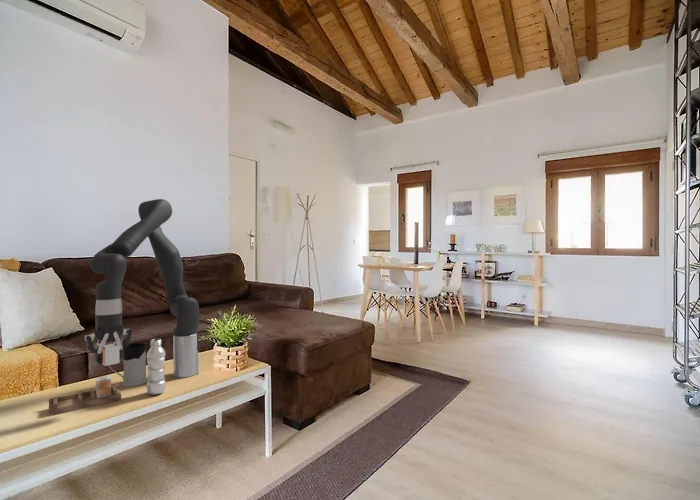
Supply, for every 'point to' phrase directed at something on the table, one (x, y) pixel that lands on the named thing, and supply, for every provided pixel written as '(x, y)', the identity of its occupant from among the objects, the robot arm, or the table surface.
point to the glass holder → (134, 365)
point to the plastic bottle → (156, 368)
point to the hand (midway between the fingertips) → (109, 362)
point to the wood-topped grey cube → (110, 354)
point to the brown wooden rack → (86, 397)
